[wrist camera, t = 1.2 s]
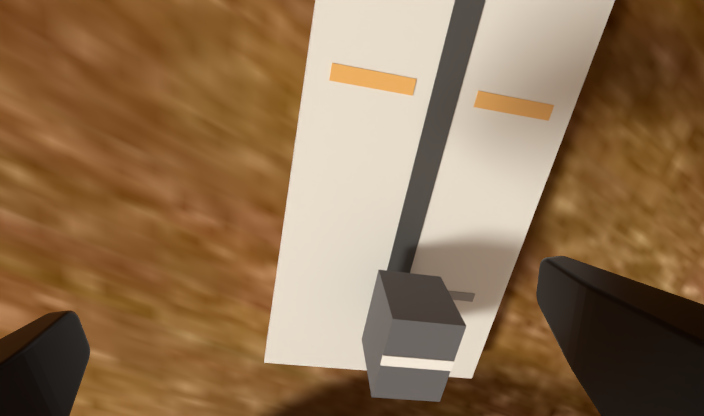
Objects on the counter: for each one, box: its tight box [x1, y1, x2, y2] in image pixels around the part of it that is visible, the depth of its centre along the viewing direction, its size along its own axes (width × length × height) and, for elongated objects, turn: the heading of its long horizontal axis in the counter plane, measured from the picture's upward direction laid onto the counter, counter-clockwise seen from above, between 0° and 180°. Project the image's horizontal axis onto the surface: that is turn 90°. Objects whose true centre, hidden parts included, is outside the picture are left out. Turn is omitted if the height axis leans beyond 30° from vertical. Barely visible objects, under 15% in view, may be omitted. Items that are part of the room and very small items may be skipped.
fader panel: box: [264, 0, 615, 379], centre depth 21 cm, size 12×21×2 cm, turn 169°
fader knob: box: [362, 270, 466, 402], centre depth 20 cm, size 3×4×5 cm
